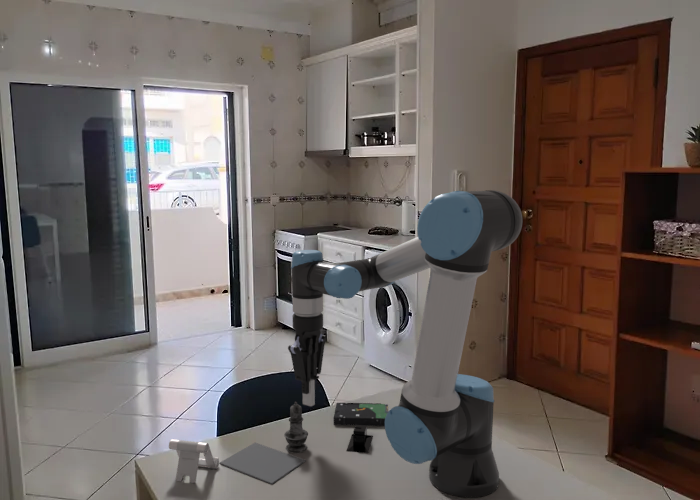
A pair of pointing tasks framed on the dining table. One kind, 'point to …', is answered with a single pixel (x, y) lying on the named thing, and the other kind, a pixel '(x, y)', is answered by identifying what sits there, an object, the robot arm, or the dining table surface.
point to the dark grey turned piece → (296, 431)
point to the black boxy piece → (360, 440)
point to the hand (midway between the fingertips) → (308, 404)
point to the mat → (263, 462)
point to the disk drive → (360, 414)
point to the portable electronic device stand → (192, 458)
